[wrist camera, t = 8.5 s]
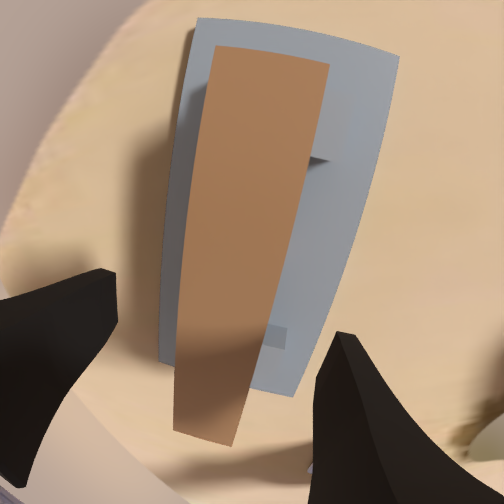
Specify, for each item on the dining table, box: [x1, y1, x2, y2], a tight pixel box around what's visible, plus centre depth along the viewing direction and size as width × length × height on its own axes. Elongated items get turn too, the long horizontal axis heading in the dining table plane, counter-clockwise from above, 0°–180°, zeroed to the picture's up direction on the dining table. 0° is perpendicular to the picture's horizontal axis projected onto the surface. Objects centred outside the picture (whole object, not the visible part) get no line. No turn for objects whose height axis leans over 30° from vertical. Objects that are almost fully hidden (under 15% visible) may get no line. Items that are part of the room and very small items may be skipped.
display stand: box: [159, 18, 400, 397], centre depth 16 cm, size 22×10×3 cm, turn 169°
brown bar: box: [173, 45, 330, 447], centre depth 12 cm, size 16×3×5 cm, turn 169°
